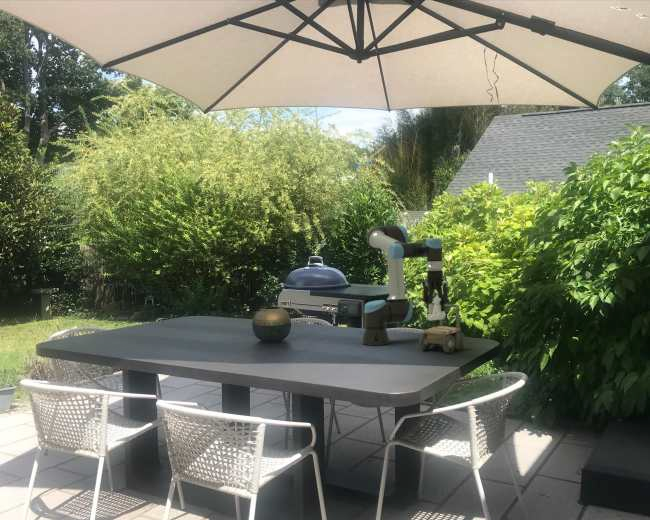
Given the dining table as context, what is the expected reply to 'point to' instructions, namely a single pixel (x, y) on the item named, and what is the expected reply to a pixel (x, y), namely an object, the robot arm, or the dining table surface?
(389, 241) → the robot arm
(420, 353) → the dining table surface
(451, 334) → the wooden trolley
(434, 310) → the sitting furry creature
